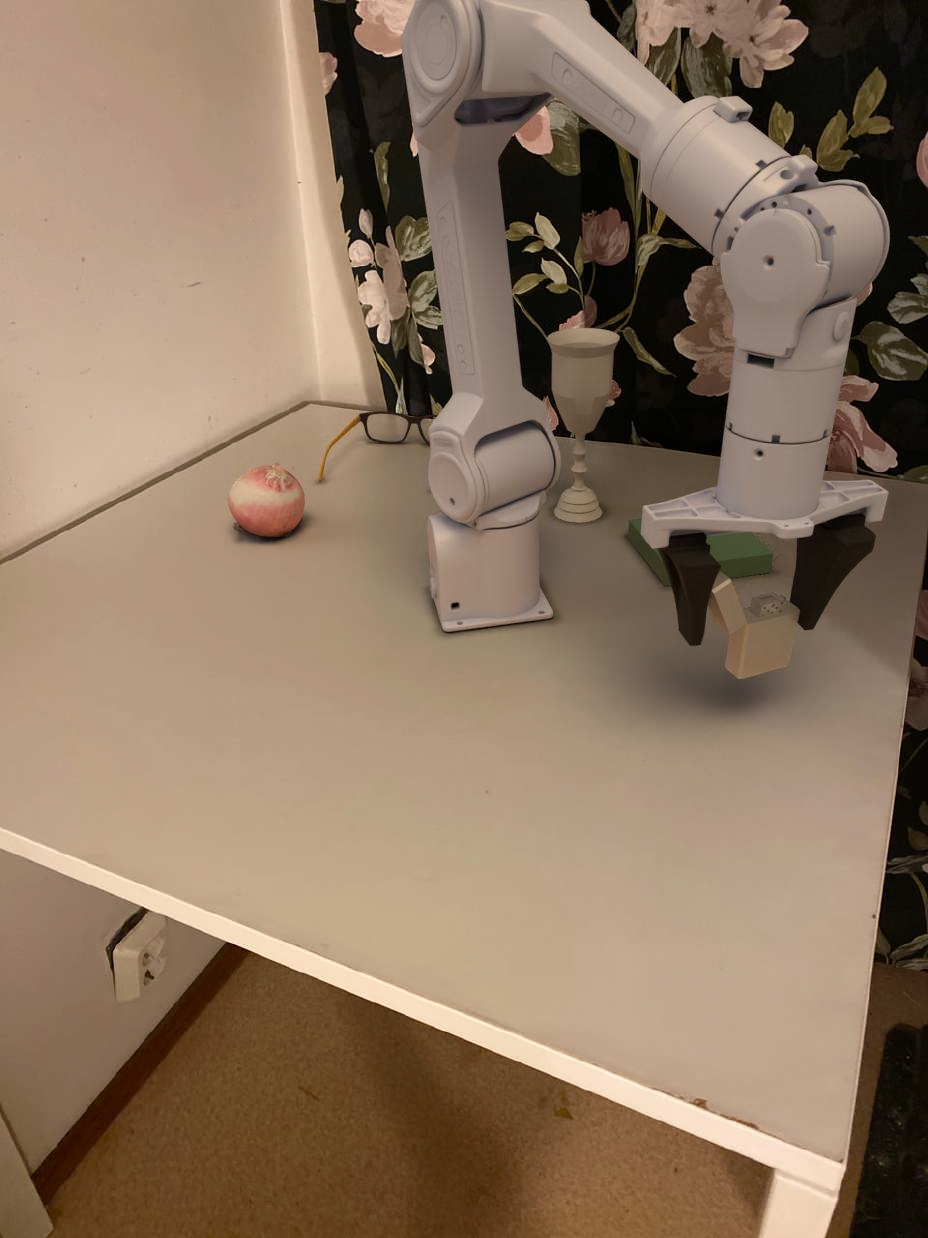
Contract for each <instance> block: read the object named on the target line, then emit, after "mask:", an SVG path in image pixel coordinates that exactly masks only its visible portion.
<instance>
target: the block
mask: <svg viewBox="0 0 928 1238" xmlns="http://www.w3.org/2000/svg"><path fill="white" fill-rule="evenodd" d="M641 523H642V517H640V518H631V519H628V531H627V539H628V541H630V543H631V544H632V546H634V548H635V549H636V550H637V552H638V553H639V554H640V556H641V557H642V559H644V561H645V562H646V564H648V565H647V566H648V567H650V569H651V570H652V571H653V572H654V574H655V575H656V577H658V579H659V580H660V582H661V583H662V584H663V585H664V587H671V583H670V580H669V577H668V574H667V571H666V568H665V565H664V563H663V560H662V558H661V556H660V553H659V551H658V549H657V548H655V549H652V548H651V546H650V545H649V544H648V543H647V542H646V541H645V539H644V538H643V536H642V535H641ZM706 543H707V544H710V546H711V547H710V554H711V555H712V556H713V557H714V558H715V559H716V560H717V562H718V563H719V564H720V565H721V566H722V567H721V569H720V571H721V572H722V573H723V574H725V575H726V576H727V577H729V578H730V579H733V578H740V577H741V578H742V577H750V576H756V575H765V574H770V573H771V571H772V564H773V559H774V552H772V551H771V550H770V548H768V547H767V546H766V545H765V544H764V543H763V542H762V541H761V540H760V539H759V538H758V537H757V536H756V535H754V534H753V532H742V533H734V534H725V535H717V536H709V537H707V539H706Z"/></svg>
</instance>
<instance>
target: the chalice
mask: <svg viewBox="0 0 928 1238" xmlns="http://www.w3.org/2000/svg"><path fill="white" fill-rule="evenodd" d="M620 337H621V336H620V335H619V334H618V333H617V332H615V331H611V330H607V329H602V328H594V327H578V328H567V329H562V330H561V329H560V330H558V331H554V332H552V333H550V334H549V335H547V338H546V340H547V342H548V344H549V347H550V349H551V392H552V395H553V398H554V401H555V405H556V408H557V410H558V412H559V415H560V417H561V419H562V421H563V423H564V426H565V428H566V430H567V431H568V432H571V433H572V434H574V436H575V443H574V447H573V449H571V453H572V454H573V456H574V459H575V460H574V464H573V465H572V466H571V467H570V471H572V472H573V476H574V481H573V484H572V485H571V486H570V487H568V488H566V489H565V490H564V491H563V492H562V493H561V495H560V498H559V500H558V501H557V505H556V507H555V508H554V510H553V515H554V516H555V517H556V518H558V519H559V520H561V521H563V522H569V523H576V524H579V523H581V524H582V523H589V522H594V521H596V520H598V519H599V518H601V516H602V515H603V510H602V508H601V507H600V506H599V505H600V502H599V501H598V499H597V495H596V494H595V492H594V491H593V490H592V489H591V488H589V487H587V486H586V485H585V482H584V477H585V473H586V472H587V471H588V470H589V468H588V467H587V466H586V464H585V457H586V455H587V454H588V452H589V451H588V449H587V448H586V442H585V439H586V436H587V434H589V433H591V432H593V431H594V430H595V429H596V427H597V425H598V422H599V421H600V419H601V417H602V415H603V413H604V411H605V410H606V407H607V404H608V401H609V399H610V396H611V393H612V390H613V389H612V388H613V371H614V353H615V352H614V351H615V349H616V347H617V345H618V343H619V342H620Z"/></svg>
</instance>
